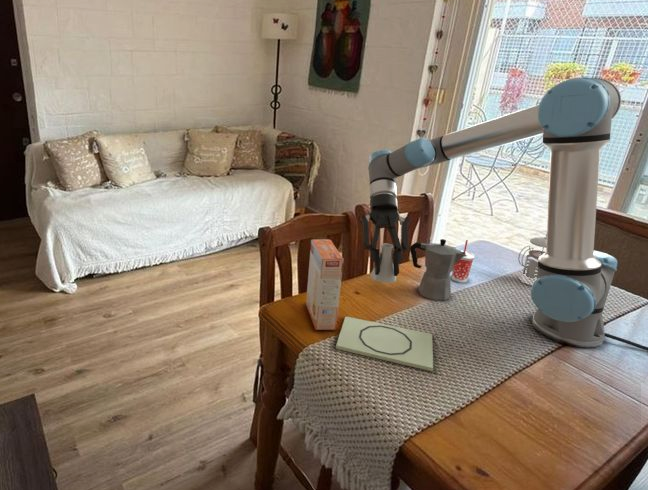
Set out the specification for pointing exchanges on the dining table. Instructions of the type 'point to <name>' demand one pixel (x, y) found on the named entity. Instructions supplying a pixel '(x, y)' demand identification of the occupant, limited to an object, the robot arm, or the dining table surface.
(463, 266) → the beverage cup
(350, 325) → the drawing board
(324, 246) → the cracker box
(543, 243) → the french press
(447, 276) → the coffeepot
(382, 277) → the flask
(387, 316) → the dining table surface
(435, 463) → the dining table surface
